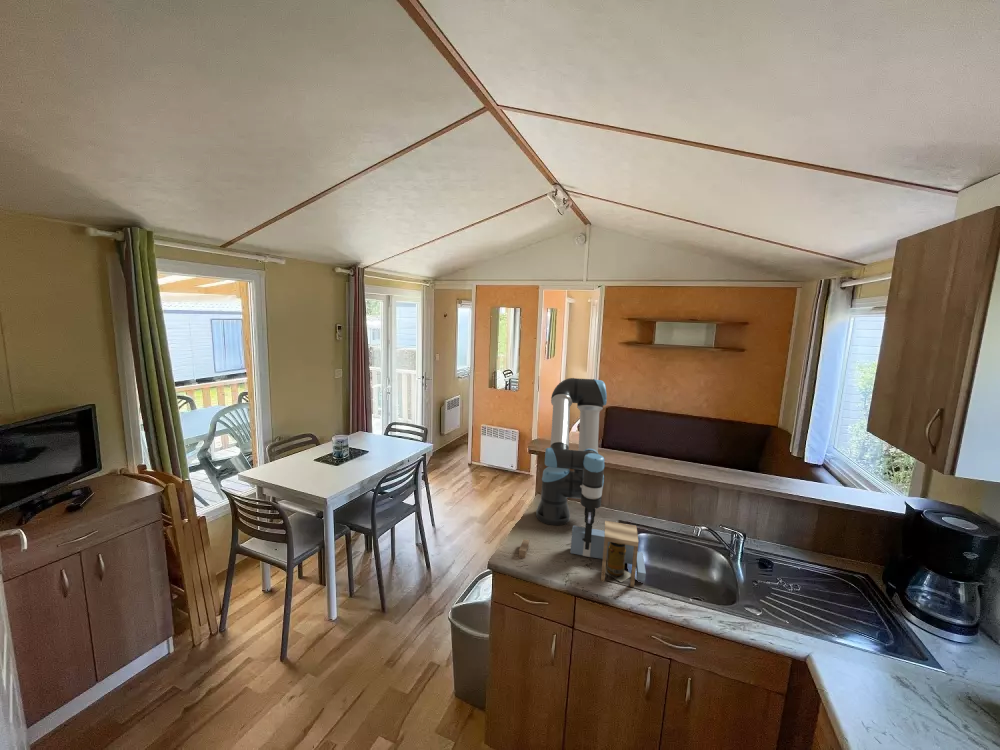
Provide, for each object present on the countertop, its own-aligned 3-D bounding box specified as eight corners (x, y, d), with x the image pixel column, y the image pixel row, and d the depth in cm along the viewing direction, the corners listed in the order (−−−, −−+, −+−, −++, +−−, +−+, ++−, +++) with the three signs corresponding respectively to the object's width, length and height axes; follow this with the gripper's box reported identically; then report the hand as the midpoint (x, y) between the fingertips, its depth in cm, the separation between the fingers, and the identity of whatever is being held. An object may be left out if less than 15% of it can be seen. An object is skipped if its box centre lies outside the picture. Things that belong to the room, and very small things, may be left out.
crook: (571, 546, 163) (573, 525, 161) (642, 559, 156) (644, 537, 155) (568, 566, 150) (569, 543, 149) (645, 581, 143) (647, 557, 142)
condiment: (613, 563, 154) (615, 533, 152) (633, 575, 147) (636, 544, 146) (600, 570, 149) (603, 540, 147) (621, 583, 143) (624, 551, 141)
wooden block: (522, 546, 163) (523, 539, 163) (529, 547, 163) (529, 540, 162) (518, 557, 155) (519, 550, 155) (525, 558, 155) (525, 551, 154)
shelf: (601, 562, 154) (605, 520, 152) (632, 567, 152) (636, 525, 149) (600, 580, 143) (604, 536, 141) (633, 587, 141) (638, 542, 138)
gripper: (582, 484, 165) (578, 538, 168) (579, 503, 148) (575, 563, 152) (601, 487, 163) (597, 541, 167) (601, 507, 146) (595, 567, 150)
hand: (586, 551), depth 159 cm, fingers closed on crook, 4 cm apart
